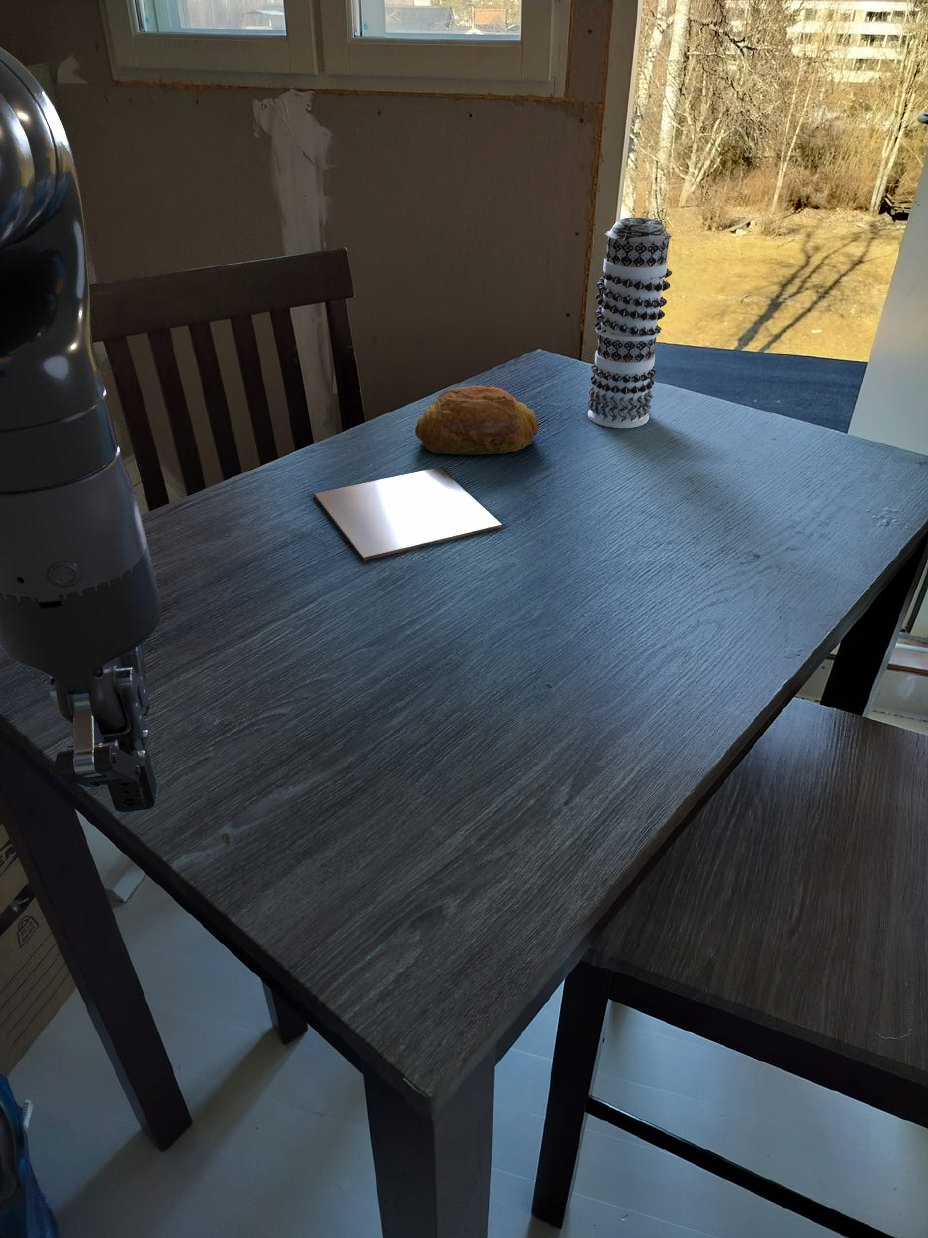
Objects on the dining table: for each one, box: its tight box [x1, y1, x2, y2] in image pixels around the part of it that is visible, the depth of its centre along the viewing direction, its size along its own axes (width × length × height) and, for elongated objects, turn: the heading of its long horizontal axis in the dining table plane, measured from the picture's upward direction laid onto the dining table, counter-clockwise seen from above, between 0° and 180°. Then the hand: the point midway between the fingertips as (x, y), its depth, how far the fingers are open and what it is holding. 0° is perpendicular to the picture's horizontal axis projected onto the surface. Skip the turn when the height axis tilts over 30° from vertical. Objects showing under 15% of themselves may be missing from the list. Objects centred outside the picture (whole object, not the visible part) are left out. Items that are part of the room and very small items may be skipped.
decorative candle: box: [587, 217, 673, 429], centre depth 111 cm, size 9×9×25 cm
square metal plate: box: [313, 466, 503, 562], centre depth 95 cm, size 16×16×1 cm
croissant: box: [414, 384, 539, 455], centre depth 110 cm, size 14×16×8 cm
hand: (137, 801), depth 50 cm, fingers closed
